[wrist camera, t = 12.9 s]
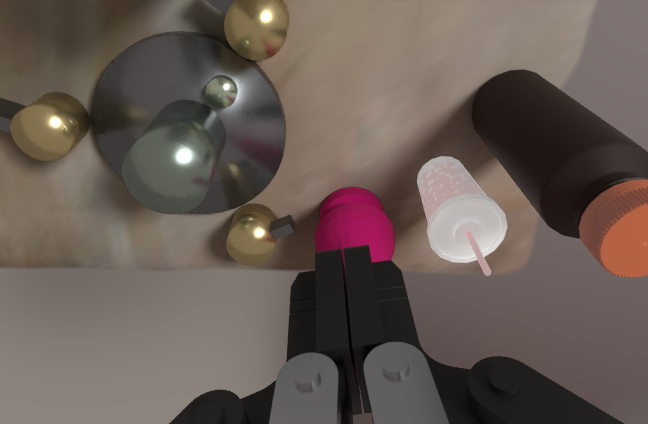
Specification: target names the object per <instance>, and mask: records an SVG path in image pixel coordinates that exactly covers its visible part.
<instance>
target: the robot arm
mask: <svg viewBox="0 0 648 424" xmlns="http://www.w3.org/2000/svg"><path fill="white" fill-rule="evenodd" d="M343 252H344V260H343V255H342V250H341V249H334V250H327V251H320V252H316V253H315V271H309V272H301V273H299V274H298V276H297V277H296V279H295V281H294V282H293V284H292V286H291V295H290V296H291V297H290V316H289V329H288V346H287V360H286V363H285V364H284V365H283V366H282V368H281V369H280V371H279V373H278V375H277V379H276V381H274V382H273V383H272V384H271V385H269V386H268V387H266V388H265V389H263V390H261V391H258V392H256V393H254V394H251V395H249V396H247V397H244V398H242V399H240V398H239V397H238V396H237V395H236V394H234V393H233V392H231V391H227V390H214V391H209V392H207V393H204V394H202V395H200V396H199V397H197V398H196V399H194V400H193V401H192V402H191V403H190V404H189V405H188V406H187V407H186V408H185V409H184V410H183V411H182V412H181V413H180V414H179V415H178V416H177V417H176V418H175V419H174V420H173V421H172V422H171V423H169V424H353V415H356V414H362V409H361V399H360V390H361V396H362V401H363V406H364V412H365V413H371V415H372V421H373V424H624V423H622V422H620V421H618V420H617V419H615V418H613V417H612V416H610V415H609V414H607V413H605V412H604V411H602V410H600V409H599V408H597V407H595V406H594V405H592V404H590V403H589V402H587V401H585V400H584V399H582V398H580V397H579V396H577V395H575V394H574V393H572V392H570V391H569V390H567V389H565V388H564V387H562V386H560V385H559V384H557V383H555V382H554V381H552V380H550V379H548V378H547V377H545V376H544V375H542V374H540V373H539V372H537V371H535V370H534V369H532V368H530V367H529V366H527V365H525V364H524V363H522V362H520V361H518V360H515V359H512V358H508V357H501V356H497V357H496V356H495V357H488V358H485V359H483V360H480V361H479V362H477V363H476V364H475V365H474V366H473V367H472V368H471V370H470V369H464V368H457V367H451V366H447V365H444V364H441V363H439V362H437V361H435V360H433V359H432V358H430V357H429V356H428V355H427V354H426V353H425V352H424V351H423V349H422V347H421V346H420V343H419V340H418V336H417V332H416V328H415V324H414V320H413V316H412V312H411V308H410V304H409V300H408V296H407V292H406V288H405V284H404V280H403V276H402V272H401V270H400V269H399V268H398V267H397V266H396V265H395V264H394V263H393V262H392V261H391V260H386V261H379V262H372V260H371V254H370V248H369V244H368V245H361V246H354V247H347V248H343ZM344 263H345V266H344ZM359 386H360V389H359Z"/></svg>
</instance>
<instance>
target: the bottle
mask: <svg viewBox="0 0 648 424" xmlns="http://www.w3.org/2000/svg"><path fill="white" fill-rule="evenodd" d="M472 120H473V124H474V128H475V130H476V131H477V133H478V134H479V136H480V137H481V138H482V140H483V141H484V142H485V144H486V145H487V146H488V148H489V149H490V150H491V151H492V153H493V154H494V155H495V157H496V158H497V159H498V161H499V162H500V163H501V165H502V166H503V167H504V169H505V170H506V171H507V173H508V174H509V175H510V176H511V178H512V179H513V180H514V182H515V183H516V184H517V186H518V187H519V188H520V190H521V191H522V192H523V194H524V195H525V196H526V197H527V199H528V200H529V201H530V203H531V204H532V205H533V207H534V208H535V209H536V211H537V212H538V213H539V215H540V216H541V217H542V218H543V220H544V221H545V222H546V224H547V225H548V226H549V227H550V228H552V229H553V230H555V231H557V232H558V233H560V234H562V235H564V236H569V237H574V238H580V239H581V240H582V241H583V243H584V245H585V246H586V247H587V249H588V250H589V251H590V252H591V254H592V255H593V256H594V257H595V258H596V260H597V261H598V262H599V263H600V264H601V266H602V267H603V268H604V269H605V270H606V271H608V272H611V274H614V275H617V276H619V275H620V276H621V277H623V276H624V277H640V276H646V275H648V152H647V151H646V150H644V149H643V148H642V147H641V146H639V145H638V144H637V143H635V142H634V141H632V140H631V139H630V138H628V137H627V136H625V135H624V134H622V133H621V132H620V131H618V130H617V129H615V128H614V127H612V126H611V125H610V124H608V123H607V122H605V121H604V120H602V119H601V118H600V117H598V116H597V115H595V114H594V113H592V112H591V111H590V110H588V109H587V108H585V107H584V106H582V105H581V104H580V103H578V102H577V101H575V100H574V99H573V98H571V97H570V96H568V95H567V94H565V93H564V92H563V91H561V90H560V89H558V88H557V87H555V86H554V85H553V84H551V83H550V82H548V81H547V80H545V79H544V78H543V77H541V76H540V75H538V74H537V73H535V72H531V71H527V70H511V71H508V72H505V73H502V74H500V75H497V76H496V77H495V78H493V79H492V80H490V81H489V82H488V83H486V85H485V86H484V87H483V88H482V90H481V91H480V92H479V93H478V95H477V98H476V100H475V102H474V104H473V112H472Z"/></svg>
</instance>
